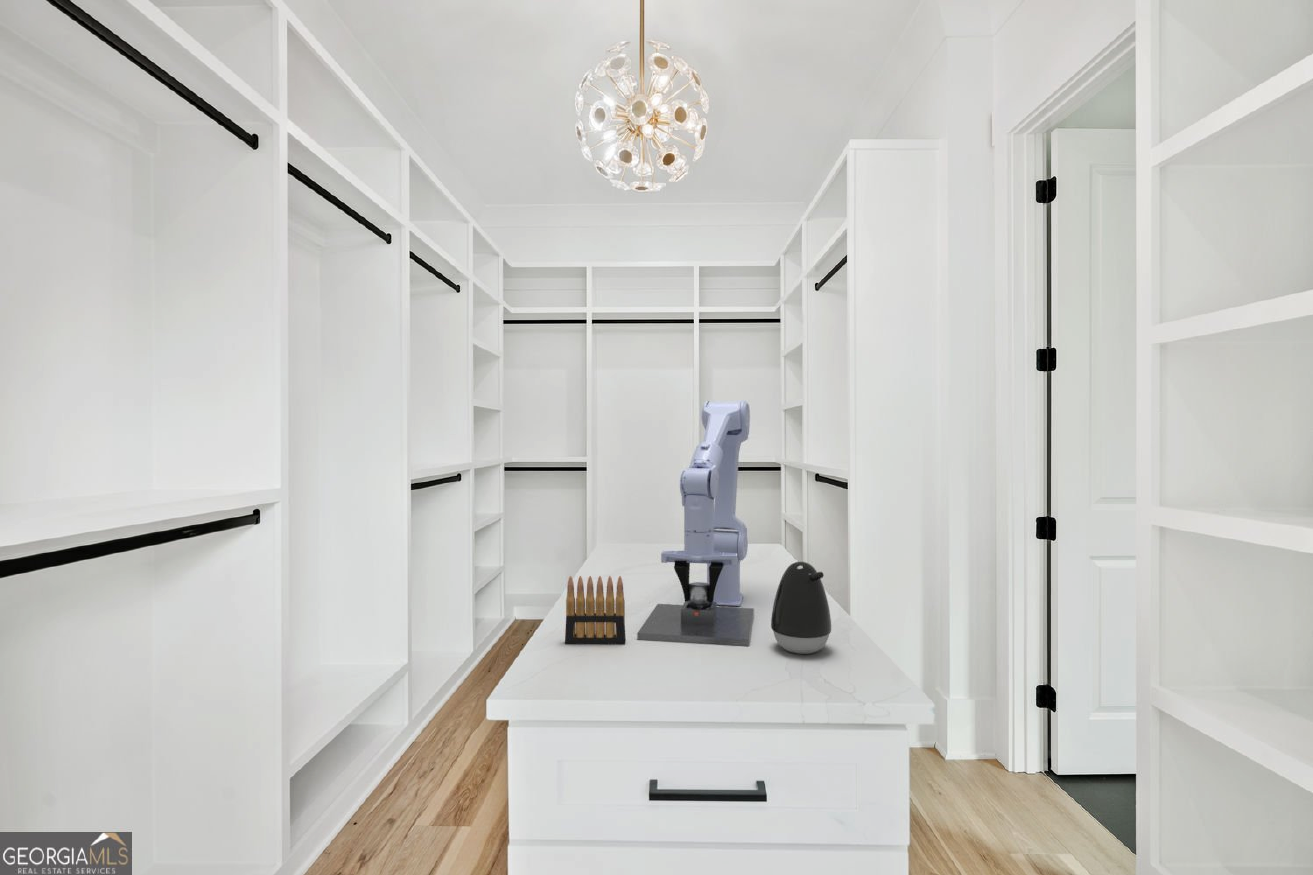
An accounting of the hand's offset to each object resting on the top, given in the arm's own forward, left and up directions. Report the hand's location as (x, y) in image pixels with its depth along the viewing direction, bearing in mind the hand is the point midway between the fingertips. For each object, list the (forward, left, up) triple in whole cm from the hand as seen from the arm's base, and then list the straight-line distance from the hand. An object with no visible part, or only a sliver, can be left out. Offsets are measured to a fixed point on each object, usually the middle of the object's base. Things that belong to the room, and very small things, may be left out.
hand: (699, 600), depth 130 cm
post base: (0, 0, -5) cm, 5 cm away
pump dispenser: (+10, +19, -5) cm, 22 cm away
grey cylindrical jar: (0, 0, -3) cm, 3 cm away
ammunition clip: (+13, -17, -5) cm, 22 cm away
